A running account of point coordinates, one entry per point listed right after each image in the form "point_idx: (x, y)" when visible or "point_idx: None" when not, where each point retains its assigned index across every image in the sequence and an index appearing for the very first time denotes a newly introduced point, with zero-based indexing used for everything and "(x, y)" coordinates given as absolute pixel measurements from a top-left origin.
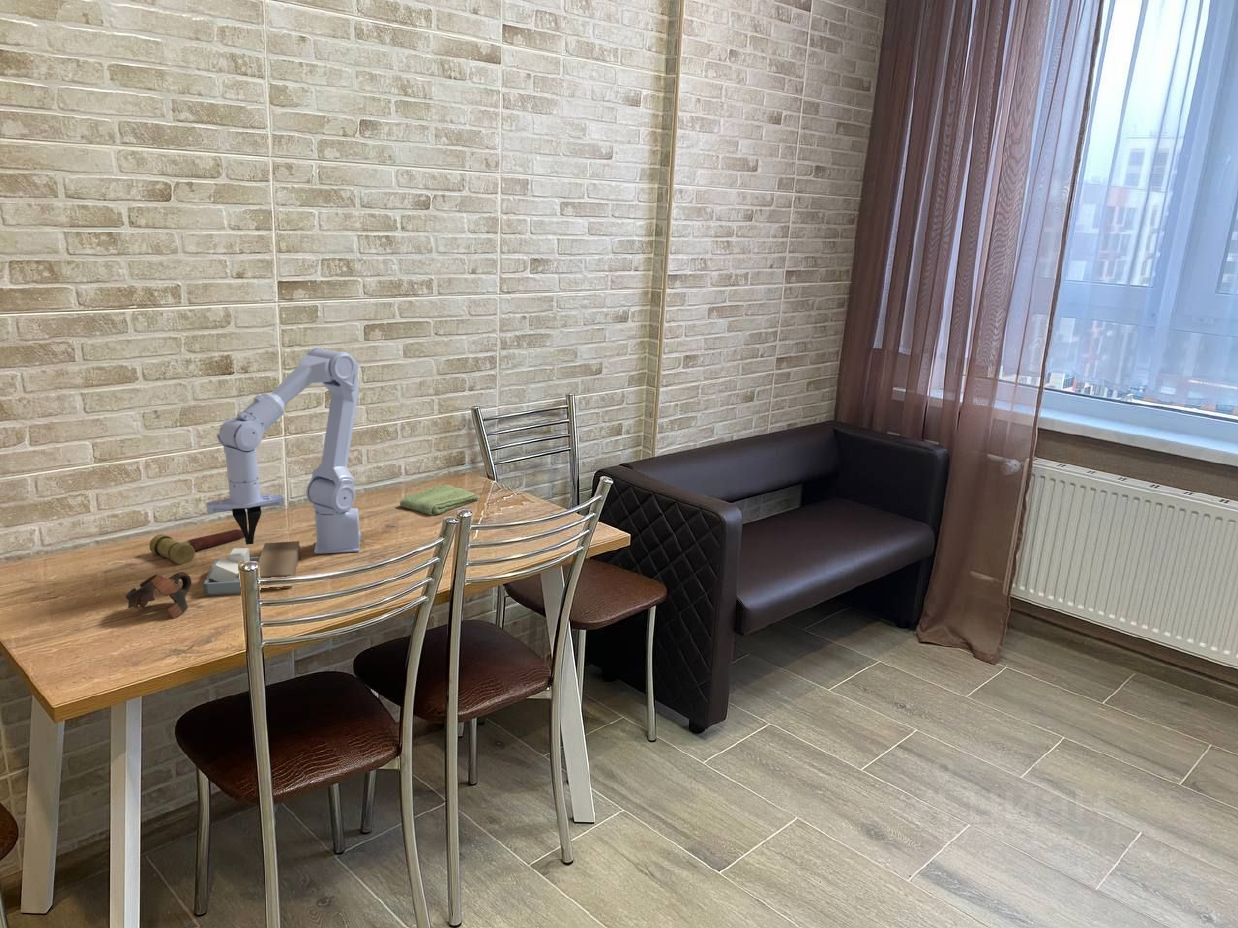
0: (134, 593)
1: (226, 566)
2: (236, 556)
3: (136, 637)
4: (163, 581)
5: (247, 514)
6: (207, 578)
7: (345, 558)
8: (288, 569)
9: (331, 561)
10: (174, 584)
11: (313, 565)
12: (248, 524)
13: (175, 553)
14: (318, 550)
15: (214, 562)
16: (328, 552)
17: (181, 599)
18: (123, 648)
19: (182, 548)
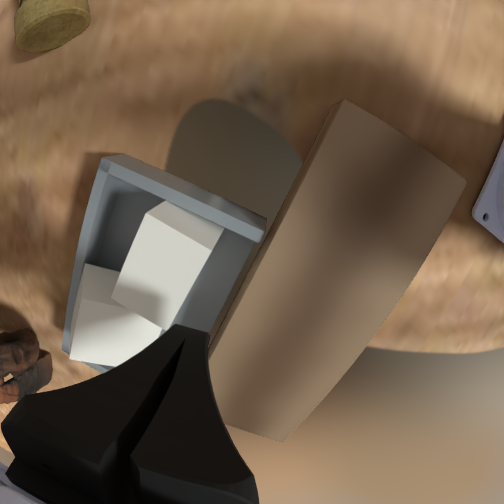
0: None
1: (106, 348)
2: (140, 315)
3: None
4: None
5: (149, 429)
6: (68, 321)
7: (499, 298)
8: (294, 417)
9: (467, 299)
10: (6, 393)
11: (418, 301)
12: (172, 381)
13: (20, 47)
14: (488, 209)
15: (93, 193)
16: (498, 238)
17: (33, 383)
18: (5, 408)
19: (32, 31)
